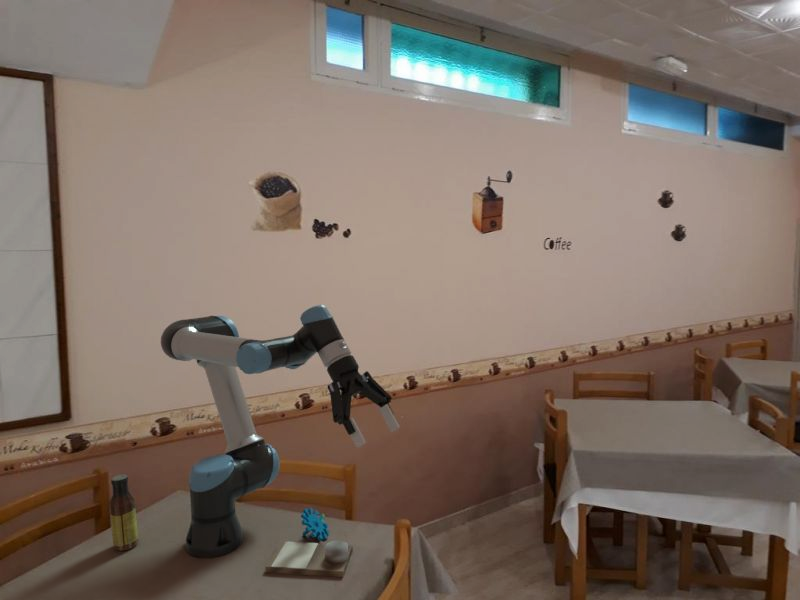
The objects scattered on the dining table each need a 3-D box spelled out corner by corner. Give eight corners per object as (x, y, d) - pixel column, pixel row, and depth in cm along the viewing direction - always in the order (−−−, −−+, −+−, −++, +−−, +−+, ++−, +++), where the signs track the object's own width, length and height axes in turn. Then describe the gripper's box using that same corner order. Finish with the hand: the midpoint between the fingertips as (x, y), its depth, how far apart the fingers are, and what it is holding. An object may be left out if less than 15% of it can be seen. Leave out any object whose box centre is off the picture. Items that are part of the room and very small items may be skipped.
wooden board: (265, 572, 141) (265, 555, 141) (280, 546, 153) (280, 531, 153) (343, 577, 139) (342, 559, 139) (352, 551, 151) (352, 535, 150)
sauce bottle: (139, 538, 158) (136, 470, 156) (136, 550, 152) (132, 479, 150) (114, 542, 156) (110, 473, 154) (110, 554, 150) (105, 482, 148)
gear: (320, 542, 152) (298, 512, 155) (306, 555, 153) (284, 526, 156) (337, 528, 163) (316, 501, 165) (323, 541, 164) (303, 513, 166)
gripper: (313, 362, 129) (355, 445, 123) (378, 346, 149) (417, 417, 143) (294, 378, 133) (335, 459, 127) (361, 360, 153) (398, 429, 147)
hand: (379, 437), depth 135 cm, fingers open, 13 cm apart
